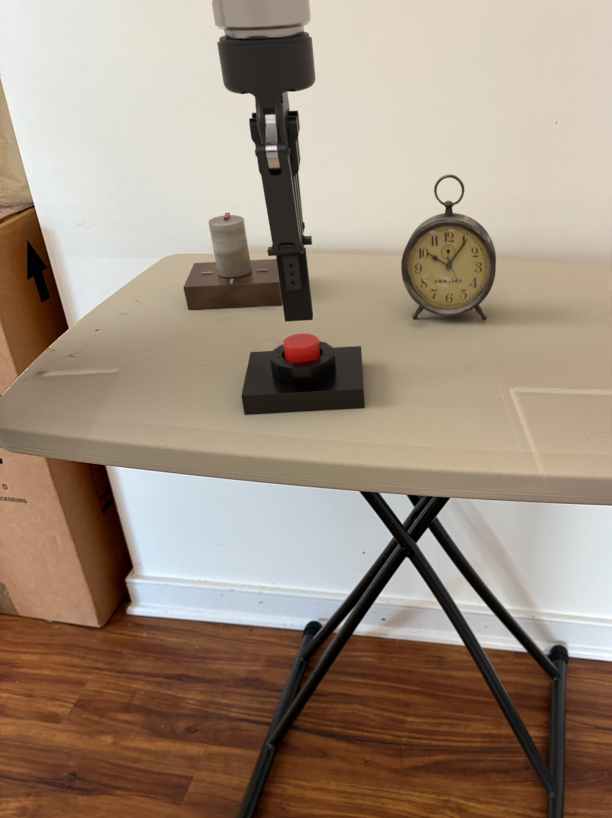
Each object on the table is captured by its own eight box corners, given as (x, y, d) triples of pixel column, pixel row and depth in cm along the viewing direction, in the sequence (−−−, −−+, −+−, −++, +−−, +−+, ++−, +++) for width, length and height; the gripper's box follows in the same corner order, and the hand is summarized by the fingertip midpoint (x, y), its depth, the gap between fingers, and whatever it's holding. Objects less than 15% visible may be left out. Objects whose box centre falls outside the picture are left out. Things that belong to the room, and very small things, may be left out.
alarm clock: (402, 324, 92) (397, 180, 82) (407, 307, 96) (404, 168, 86) (492, 326, 91) (499, 180, 81) (494, 308, 95) (500, 168, 85)
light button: (284, 365, 76) (281, 349, 75) (286, 350, 79) (283, 334, 78) (320, 363, 76) (318, 347, 75) (320, 348, 79) (319, 332, 78)
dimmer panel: (188, 310, 97) (182, 285, 95) (198, 284, 104) (193, 261, 102) (281, 305, 98) (278, 280, 96) (285, 280, 105) (282, 257, 103)
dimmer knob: (250, 276, 98) (241, 221, 93) (215, 278, 97) (205, 223, 93) (253, 265, 101) (244, 211, 97) (219, 266, 101) (210, 213, 97)
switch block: (244, 415, 76) (238, 379, 73) (253, 370, 83) (247, 336, 81) (364, 408, 76) (362, 372, 73) (362, 364, 84) (360, 330, 81)
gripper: (225, 25, 65) (266, 295, 80) (204, 42, 55) (255, 348, 70) (313, 21, 65) (337, 291, 80) (308, 38, 55) (336, 343, 70)
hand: (299, 317), depth 75 cm, fingers closed
